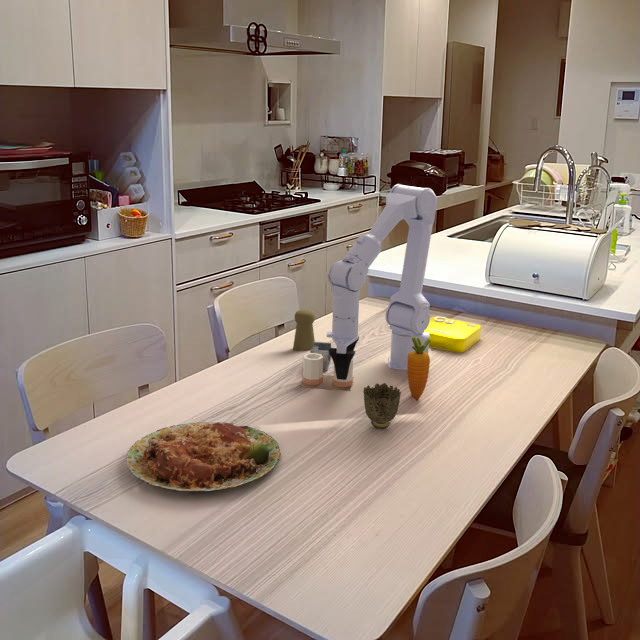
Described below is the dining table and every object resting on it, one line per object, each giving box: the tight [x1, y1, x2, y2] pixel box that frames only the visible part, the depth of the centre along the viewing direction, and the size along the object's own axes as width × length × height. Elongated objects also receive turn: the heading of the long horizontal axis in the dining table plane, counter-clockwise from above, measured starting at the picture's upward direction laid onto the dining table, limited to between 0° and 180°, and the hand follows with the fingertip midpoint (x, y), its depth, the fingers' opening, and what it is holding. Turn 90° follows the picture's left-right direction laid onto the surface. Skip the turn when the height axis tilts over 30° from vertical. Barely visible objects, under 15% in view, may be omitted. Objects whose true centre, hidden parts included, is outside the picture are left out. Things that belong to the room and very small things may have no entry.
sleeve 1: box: [302, 352, 324, 385], centre depth 161 cm, size 4×4×6 cm
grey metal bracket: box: [309, 341, 332, 372], centre depth 170 cm, size 11×6×6 cm, turn 82°
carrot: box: [406, 336, 431, 401], centre depth 153 cm, size 5×5×15 cm
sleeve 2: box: [333, 357, 354, 387], centre depth 160 cm, size 4×4×6 cm
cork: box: [292, 309, 316, 352], centre depth 182 cm, size 6×6×11 cm
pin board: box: [301, 374, 354, 392], centre depth 161 cm, size 11×8×4 cm
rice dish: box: [125, 421, 282, 492], centre depth 129 cm, size 28×28×5 cm
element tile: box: [424, 315, 482, 354], centre depth 194 cm, size 15×15×5 cm
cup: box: [362, 382, 402, 430], centre depth 142 cm, size 8×7×8 cm
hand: (343, 372), depth 160 cm, fingers open, 7 cm apart
